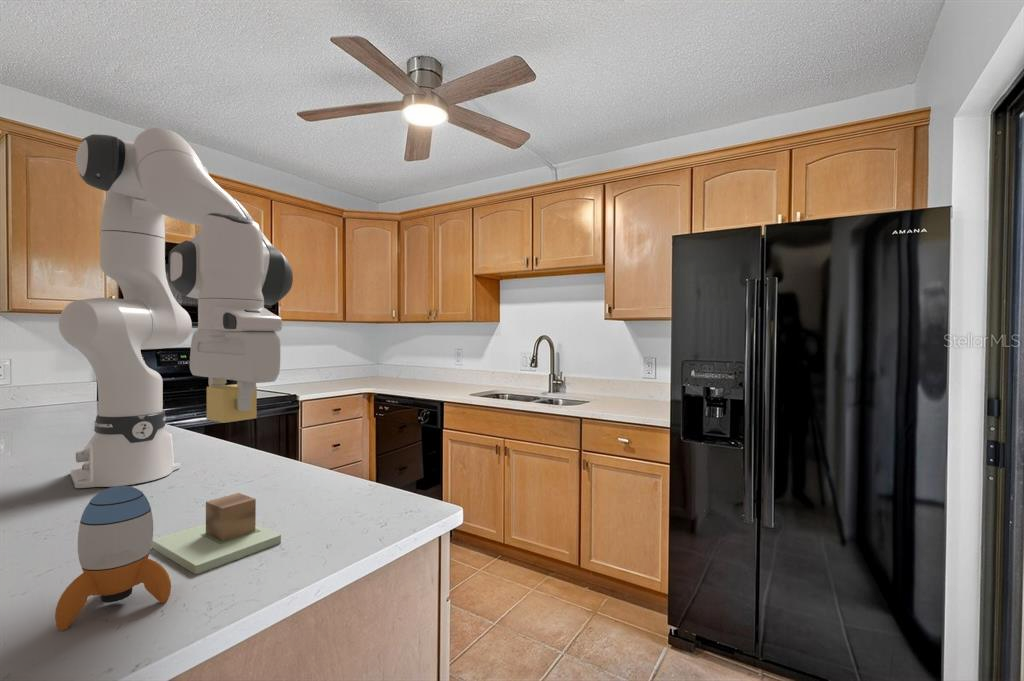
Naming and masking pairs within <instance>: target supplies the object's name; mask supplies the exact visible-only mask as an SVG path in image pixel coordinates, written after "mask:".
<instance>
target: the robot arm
mask: <svg viewBox="0 0 1024 681" xmlns="http://www.w3.org/2000/svg"><path fill="white" fill-rule="evenodd" d="M75 162H76V167H77V169H78V172H79V176H80V178H81V179H82V181H84V182H85V185H88V186H91V187H93V188H94V189H99V190H101V191H104V192H107V193H106V196H105V199H104V204H103V208H102V215H101V221H100V244H99V245H100V247H99V248H100V250H99V251H100V252H99V256H100V257H99V266H100V268H101V270H102V272H103V274H105V275H106V276H107V277H109V278H111V280H113V281H114V282H116V283H117V285H118V287H119V288H120V291H121V293H122V296H123V298H114V297H113V298H112V297H111V298H110V297H93V298H85V299H84V298H83V299H77V300H74V301H71V302H69V303H68V304H67V305H66V306H65V307H64V308H63V310H62V311H61V313H60V314H59V318H58V329H59V330H58V331H59V332H60V334H61V337H62V338H63V340H64V341H65V342H66V343H67V344H68V345H71V346H72V347H73V348H75V349H77V350H78V351H79V352H80V353H81V354H82V355H83V356H84V357H85V358H86V360H87V361H88V362H89V364H90V366H91V368H92V370H93V372H94V375H95V378H96V382H97V383H96V384H97V395H98V397H97V398H98V399H97V400H98V401H97V402H98V414H97V415H96V417H95V421H94V424H93V425H94V429H93V431H94V432H95V433H94V435H93V436H92V437H91V438H90V440H89V442H88V443H87V444H86V445H85V446H84V449H83V450H79V451H76V452H75V462H76V464H77V463H83V464H82V465H81V466H78V467H74V468H71V469H70V474H69V475H70V478H71V480H72V483H73V485H74V488H75V489H86V488H87V489H88V488H97V487H98V488H100V487H101V488H104V487H105V488H106V487H107V488H111V487H115V486H131V485H136V484H142V483H143V484H144V483H147V482H151V481H155V480H158V479H162V478H164V477H166V476H169V475H170V474H171V473H172V472H173V471H176V470H178V469H180V468H181V463H180V462H175V460H174V458H175V457H174V448H173V447H174V446H173V435H172V434H171V433H170V432H168V431H167V430H165V428H164V427H165V426H166V420H167V419H166V418H167V416H166V412H165V410H164V409H163V406H164V402H163V401H164V400H163V397H164V396H163V394H164V392H163V390H164V389H163V388H164V387H163V386H164V385H163V384H164V383H163V382H164V381H163V377H162V376H161V374H160V373H159V372H158V371H156V370H154V369H152V368H150V367H149V366H148V365H147V364H146V362H145V361H144V358H143V355H142V353H141V350H158V349H166V348H170V347H173V346H177V345H181V344H183V343H184V342H185V341H186V340H188V338H189V337H190V335H191V333H192V326H193V323H192V319H191V316H190V314H189V312H188V311H187V310H186V309H185V308H183V307H182V306H181V305H180V303H178V301H177V299H176V298H175V296H174V295H173V293H172V292H173V291H172V290H171V288H170V285H171V286H172V287H173V288H174V289H175V290H176V291H177V292H178V293H180V294H181V296H183V297H188V298H192V299H198V300H197V301H198V302H197V305H198V306H197V312H198V313H197V317H198V318H197V320H198V321H197V329H196V330H195V331H194V332H193V333H192V335H191V341H190V354H189V355H190V356H189V370H190V373H191V374H192V376H195V377H203V378H208V387H211V386H223V385H226V384H227V383H228V382H227V380H229V381H235V382H236V384H237V388H239V392H238V396H237V399H234V404H235V405H234V408H235V410H238V411H247V410H250V409H251V398H252V396H253V394H254V391H255V389H256V386H257V384H261V383H262V384H263V383H264V384H265V383H273V382H276V380H277V379H278V377H279V375H280V371H281V338H280V335H279V334H278V333H277V332H281V331H282V327H283V320H282V318H281V317H280V316H278V315H277V314H275V313H273V312H271V311H270V310H268V308H265V305H266V306H274V305H276V304H277V303H279V301H281V300H282V299H283V298H285V296H287V294H289V292H290V291H291V289H292V286H293V283H294V282H293V281H294V274H293V270H292V266H291V264H290V263H289V261H288V259H287V258H286V257H285V255H284V254H283V253H282V252H281V251H280V250H279V249H278V248H276V247H275V246H274V245H273V244H272V243H271V242H270V240H268V238H267V237H266V236H265V234H264V233H263V232H262V230H261V227H260V225H259V223H257V222H256V221H255V220H254V219H253V217H252V216H251V215H250V213H249V212H248V211H247V209H246V208H245V207H244V206H243V205H242V204H241V202H239V200H238V199H236V198H235V197H234V196H233V195H232V194H229V193H228V192H227V190H225V189H223V187H221V186H220V185H219V184H218V183H217V182H215V180H214V179H213V178H212V177H211V176H210V173H209V171H208V168H207V167H206V166H205V164H204V163H203V162H202V161H201V159H200V158H199V156H198V155H197V153H196V151H195V150H194V149H193V148H192V146H191V145H190V144H189V143H188V142H187V141H186V139H185V138H183V137H182V136H181V135H180V134H178V133H177V132H175V131H173V130H170V129H167V128H163V127H152V128H148V129H145V130H143V131H141V133H139V134H138V135H137V137H136V138H135V139H134V141H132V140H128V139H123V138H118V137H117V136H114V135H108V134H96V133H95V134H93V133H92V134H90V135H88V136H85V137H84V138H83V139H82V140H81V142H80V144H79V145H78V148H77V150H76V154H75ZM165 216H167V217H168V218H171V219H174V220H176V221H180V222H184V223H188V224H191V225H195V226H199V227H200V228H199V231H198V233H197V234H196V235H195V236H194V237H193V238H191V239H190V240H186V239H185V240H184V241H182V242H180V243H178V244H177V245H175V246H174V247H173V248H172V249H171V250H170V251H169V252H168V267H167V268H168V270H167V271H168V272H167V273H166V259H165V258H166V226H165ZM167 274H168V278H167ZM169 284H170V285H169Z"/></svg>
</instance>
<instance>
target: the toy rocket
mask: <svg viewBox="0 0 1024 681" xmlns="http://www.w3.org/2000/svg"><path fill="white" fill-rule="evenodd" d="M153 537H154V518H153V512H152V508H151V504H150V502H149V499H148V498H147V496H146V495H145V494H144V493H143V491H141V490H140V489H138V488H136V487H133V486H131V485H124V486H112V487H107V488H106V489H103V490H101V491H99V492H98V493H97V494H95V495H94V496H93V497H92V498H91V499H90V500H89V502H88V504H87V505H86V506H85V508H84V510H83V512H82V514H81V517H80V522H79V526H78V534H77V555H78V560H79V565H80V567H81V570H82V573H81V574H80V575H78V576H77V577H76V578H75V579H73V580H72V581H71V582H70V584H69V585H68V586H67V587H66V588H65V590H64V591H63V593H62V594H61V595H60V597H59V599H58V602H57V604H56V607H55V611H54V612H55V613H54V619H55V620H54V621H55V626H56V628H57V629H58V631H60V632H62V631H65V630H67V629H68V628H69V627H70V626H71V625H72V624H73V622H74V620H75V619H76V617H78V615H79V614H80V612H81V611H82V610H83V609H84V608H85V606H86V603H88V602H87V601H88V598H89V597H91V596H100V601H101V602H102V603H107V604H108V603H116V602H119V601H122V600H124V599H126V598H128V597H130V596H131V595H132V594H133V587H135V586H138V585H140V584H143V587H144V588H145V590H146V591H147V592H148V593H149V594H150V595H151V596H152V597H154V599H156V600H157V601H158V602H159V603H160V604H164V603H167V602H168V600H169V599H170V597H171V589H172V582H171V578H170V575H169V572H167V570H166V569H165V568H164V566H162V565H161V564H160V562H157V561H155V560H153V559H152V558H149V556H150V553H151V549H152V548H151V546H152V540H153V539H154V538H153Z"/></svg>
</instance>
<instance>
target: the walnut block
mask: <svg viewBox="0 0 1024 681" xmlns="http://www.w3.org/2000/svg"><path fill="white" fill-rule="evenodd" d="M256 500H257V499H256V498H254V497H251V496H248V495H246V494H243V493H241V492H237V493H234V494H230V495H225V496H222V497H218V498H215V499H210V500H206V501H205V524H206V534H207V535H209V536H211V537H213V538H215V539H217V540H219V541H221V542H223V541H226V540H229V539H232V538H235V537H238V536H241V535H244V534H247V533H250V532H253V531H255V524H256V522H257V521H256V518H257V517H256V515H257V512H256V510H257V508H256V507H257V506H256V504H257V503H256V502H257V501H256ZM256 525H257V524H256Z"/></svg>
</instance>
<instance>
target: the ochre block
mask: <svg viewBox="0 0 1024 681" xmlns="http://www.w3.org/2000/svg"><path fill="white" fill-rule="evenodd" d="M257 388H258V386H257V385H256V389H255V391H254V394H253V396H252V398H251V409H250V410H247V411H238V410H235V408H234V405H235V404H234V399H237V396H238V392H239V388H237V383H236V384H225V385H223V386H211V387H209V386H206V420H209V421H213V422H218V423H221V424H223V423H224V424H225V423H232V422H239V421H245V420H247V421H248V420H253V419H257V418H258V417H257V415H258V414H257V413H258V411H257V408H258V407H257V405H258V404H257V398H258V397H257V390H258V389H257Z"/></svg>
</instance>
